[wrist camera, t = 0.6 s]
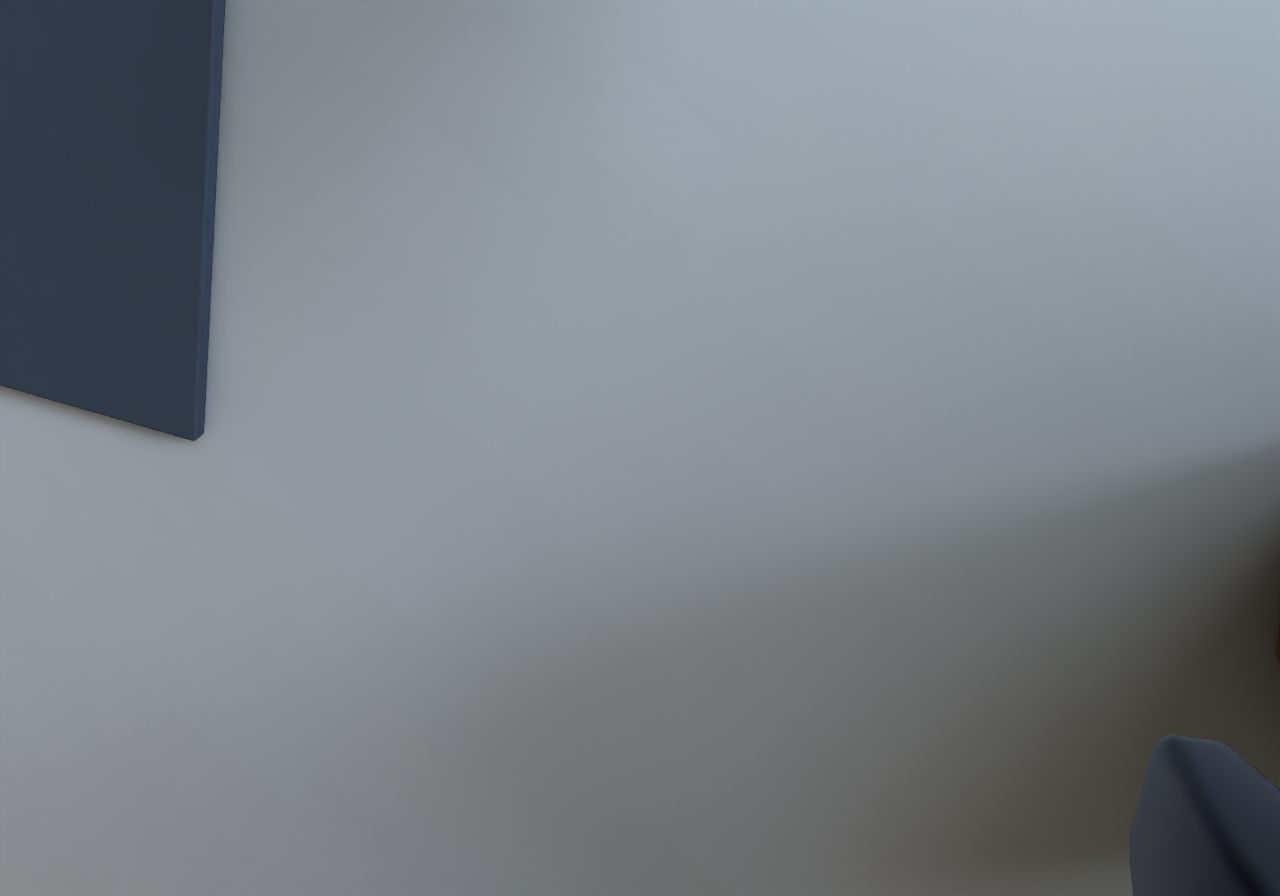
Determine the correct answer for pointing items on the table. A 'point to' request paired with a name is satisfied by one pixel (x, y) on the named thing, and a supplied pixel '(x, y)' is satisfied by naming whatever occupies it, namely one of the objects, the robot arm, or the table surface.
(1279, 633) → the food container
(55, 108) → the rubber mat
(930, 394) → the table surface
